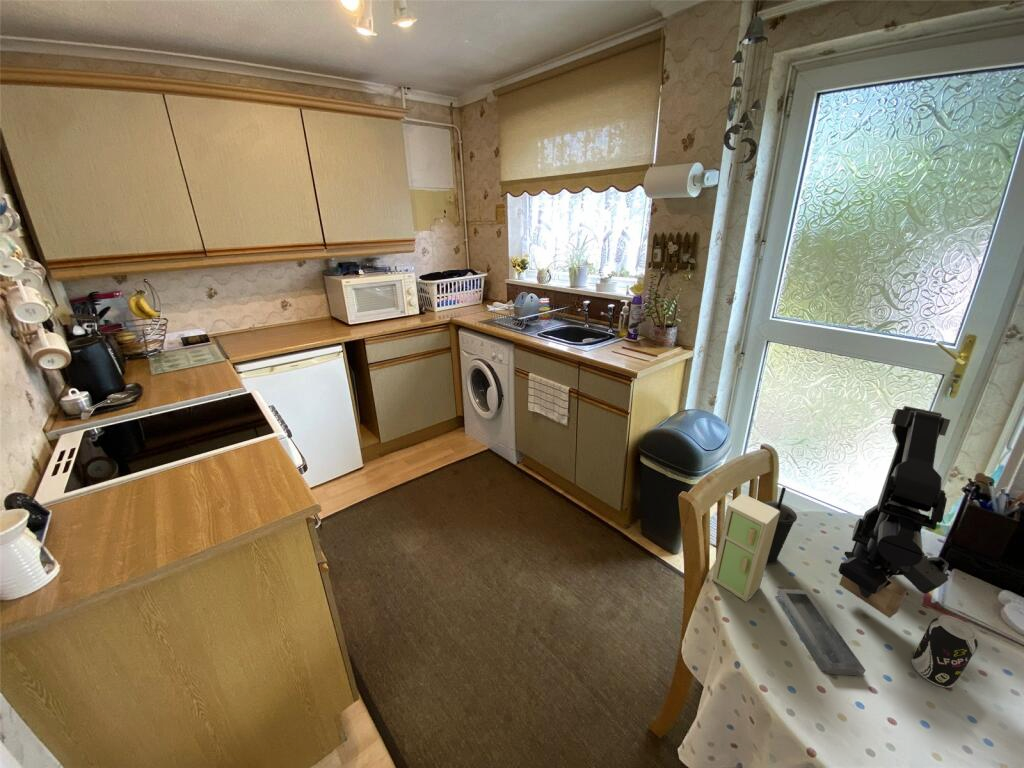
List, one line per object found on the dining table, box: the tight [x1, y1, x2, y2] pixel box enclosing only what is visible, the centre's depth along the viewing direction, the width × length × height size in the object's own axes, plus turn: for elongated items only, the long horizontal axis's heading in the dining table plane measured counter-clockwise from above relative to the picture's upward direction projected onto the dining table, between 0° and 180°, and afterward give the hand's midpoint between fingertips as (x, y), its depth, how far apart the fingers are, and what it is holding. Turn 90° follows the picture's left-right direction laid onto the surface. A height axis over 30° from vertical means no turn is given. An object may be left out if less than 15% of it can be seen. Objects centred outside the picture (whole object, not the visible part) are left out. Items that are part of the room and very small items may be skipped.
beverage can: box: [911, 614, 979, 689], centre depth 72 cm, size 6×6×12 cm
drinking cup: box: [761, 486, 798, 565], centre depth 96 cm, size 8×8×20 cm
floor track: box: [775, 588, 866, 677], centre depth 81 cm, size 17×7×2 cm, turn 176°
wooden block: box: [838, 575, 909, 619], centre depth 84 cm, size 9×3×6 cm, turn 26°
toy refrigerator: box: [711, 493, 780, 602], centre depth 89 cm, size 8×7×21 cm
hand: (868, 593), depth 84 cm, fingers closed on wooden block, 3 cm apart
